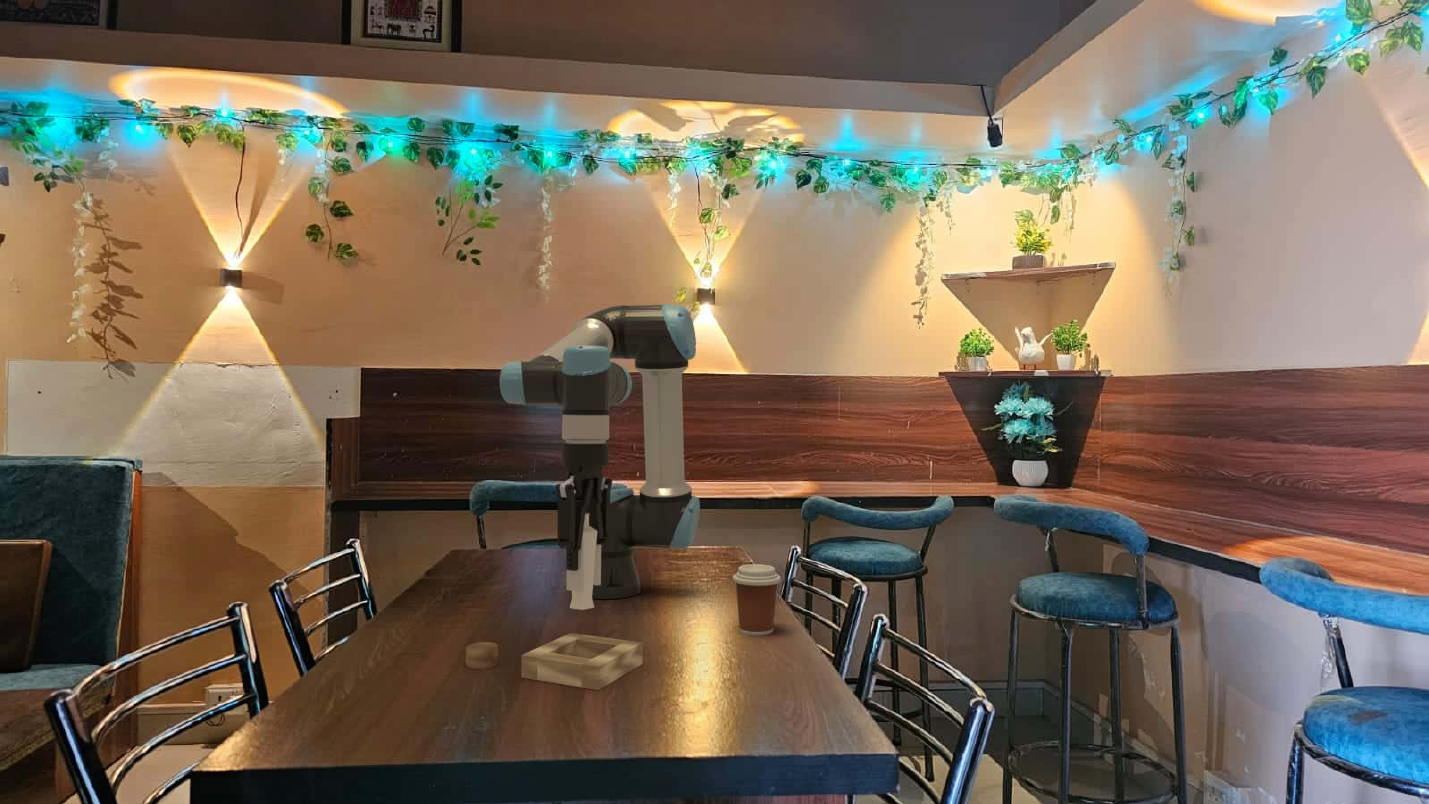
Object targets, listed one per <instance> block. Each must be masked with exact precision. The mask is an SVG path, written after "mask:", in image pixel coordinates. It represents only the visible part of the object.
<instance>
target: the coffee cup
mask: <svg viewBox="0 0 1429 804" xmlns="http://www.w3.org/2000/svg"><path fill="white" fill-rule="evenodd" d="M737 570H738V571H737V572H736V573H735V574H734V575H732V581H733V582H734V583H735V586H736V599H737V615H738V629H739V630H738V631H739V632H740V633H741V634H744V635H747V636H766V635H767V636H768V635H770V634H773V632H774V626H775V625H774V624H775V611H776V602H777V589H778V584H779V583H781V581H782V577H781V576H780V575H779V574H778V573H777V572H776V567H774V566H773V565H768V564H759V563H758V564H757V563H756V564H755V563H753V564H749V563H748V564H743V565H740V566H739V567H738V568H737Z"/></svg>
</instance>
